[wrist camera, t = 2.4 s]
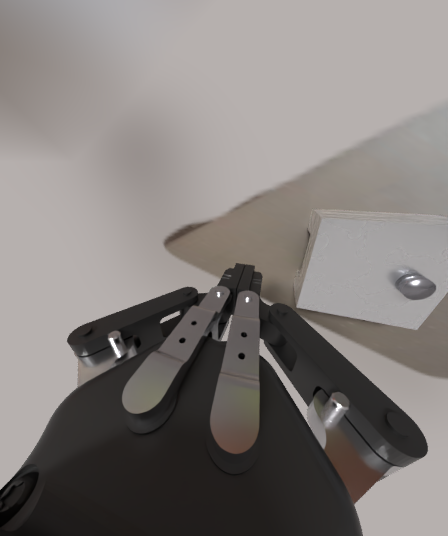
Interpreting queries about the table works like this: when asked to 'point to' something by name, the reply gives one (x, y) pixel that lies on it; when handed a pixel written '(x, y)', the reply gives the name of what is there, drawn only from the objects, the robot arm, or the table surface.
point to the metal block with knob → (374, 266)
